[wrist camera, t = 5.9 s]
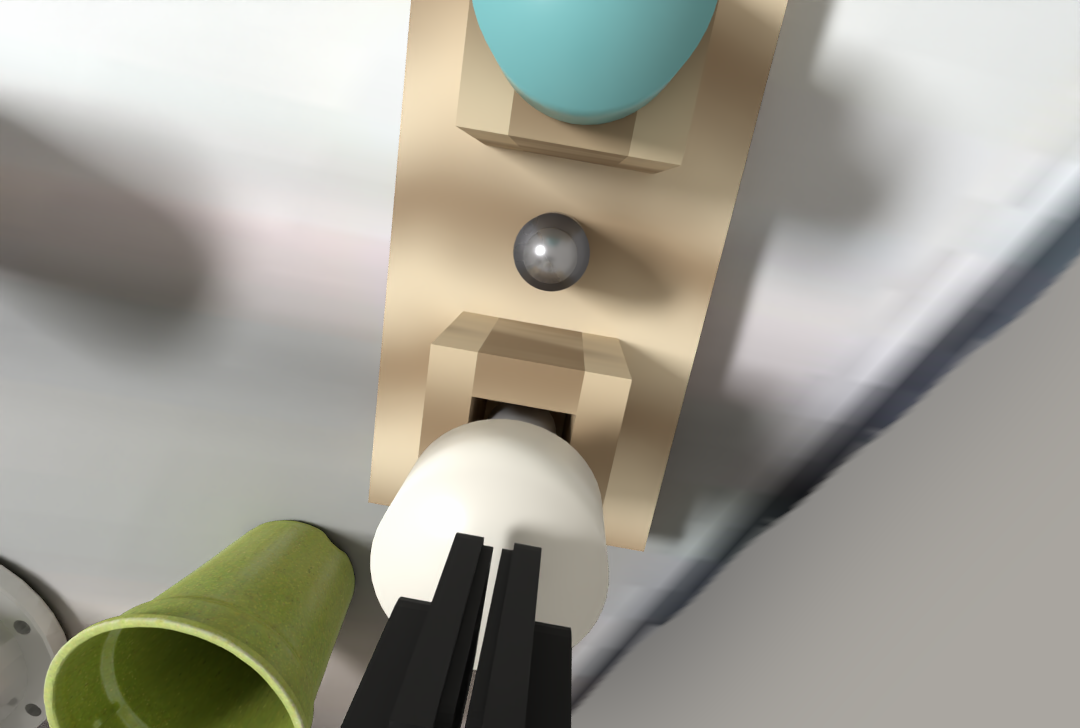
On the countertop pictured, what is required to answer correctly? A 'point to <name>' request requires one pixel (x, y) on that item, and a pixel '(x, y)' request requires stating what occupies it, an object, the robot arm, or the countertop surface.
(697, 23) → the teal knob
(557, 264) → the grey metal peg
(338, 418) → the countertop surface
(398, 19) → the countertop surface
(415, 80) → the mount
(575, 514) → the ivory knob
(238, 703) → the plant pot
